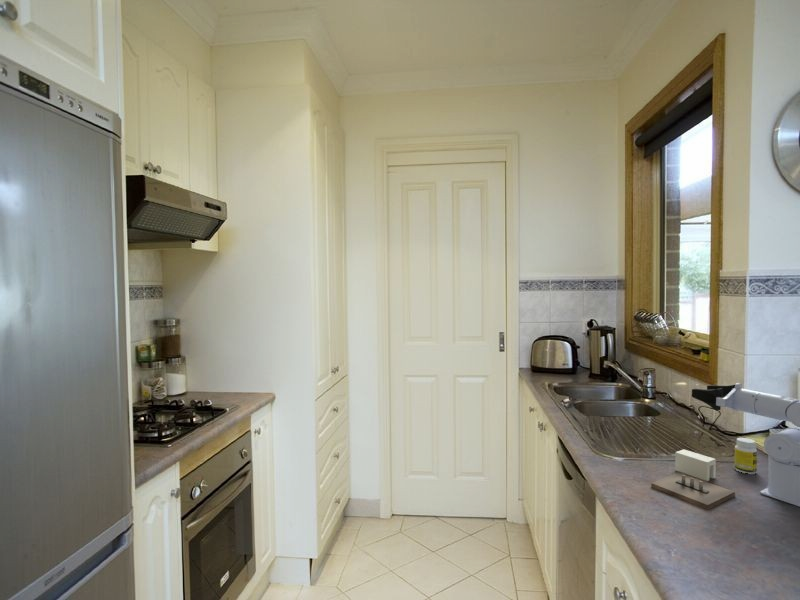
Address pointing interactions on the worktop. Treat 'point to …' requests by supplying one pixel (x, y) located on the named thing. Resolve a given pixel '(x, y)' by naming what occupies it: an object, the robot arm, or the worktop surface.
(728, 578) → the worktop surface
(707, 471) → the block
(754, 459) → the supplement bottle
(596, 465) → the worktop surface
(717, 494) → the pin board
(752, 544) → the worktop surface
